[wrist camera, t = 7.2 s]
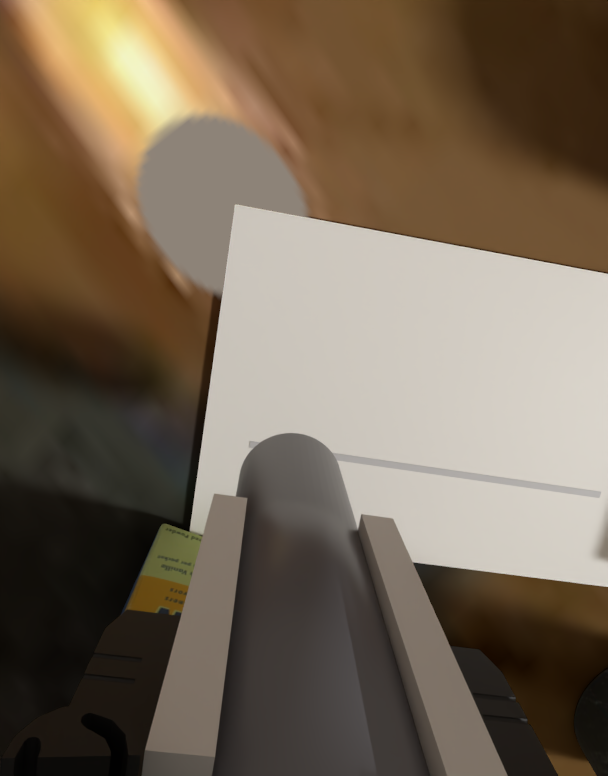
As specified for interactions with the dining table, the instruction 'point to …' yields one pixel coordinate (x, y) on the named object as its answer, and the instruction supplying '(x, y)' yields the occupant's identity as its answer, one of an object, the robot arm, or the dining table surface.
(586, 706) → the travel mug
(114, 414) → the dining table surface
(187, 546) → the protein box
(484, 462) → the paper
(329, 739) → the marker
